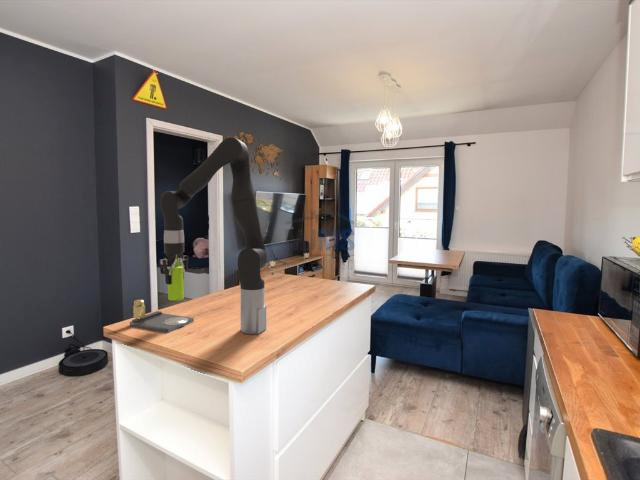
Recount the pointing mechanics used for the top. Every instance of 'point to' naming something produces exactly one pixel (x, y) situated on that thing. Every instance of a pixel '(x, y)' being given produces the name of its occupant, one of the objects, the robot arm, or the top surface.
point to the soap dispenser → (176, 283)
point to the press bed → (161, 321)
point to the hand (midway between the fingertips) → (175, 282)
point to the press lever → (139, 309)
